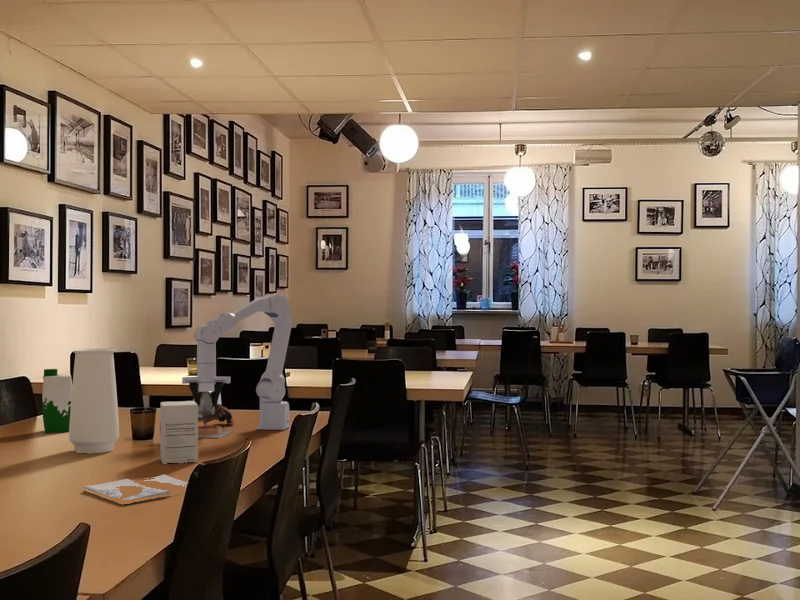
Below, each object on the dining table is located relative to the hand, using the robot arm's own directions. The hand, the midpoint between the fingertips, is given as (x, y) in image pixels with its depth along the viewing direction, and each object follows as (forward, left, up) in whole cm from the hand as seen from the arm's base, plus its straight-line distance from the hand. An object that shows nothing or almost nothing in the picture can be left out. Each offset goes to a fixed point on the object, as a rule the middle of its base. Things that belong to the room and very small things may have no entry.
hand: (206, 406), depth 250 cm
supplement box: (-8, +42, -9) cm, 44 cm away
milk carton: (+50, -3, -9) cm, 51 cm away
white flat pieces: (-14, +76, -10) cm, 78 cm away
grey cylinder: (0, 0, -2) cm, 2 cm away
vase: (+21, +30, -9) cm, 38 cm away
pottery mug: (+3, -21, -9) cm, 23 cm away
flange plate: (0, 0, -9) cm, 9 cm away
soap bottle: (+14, -43, -9) cm, 46 cm away
